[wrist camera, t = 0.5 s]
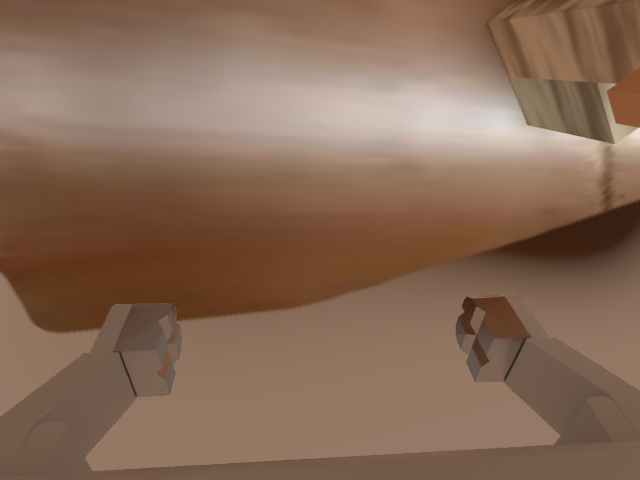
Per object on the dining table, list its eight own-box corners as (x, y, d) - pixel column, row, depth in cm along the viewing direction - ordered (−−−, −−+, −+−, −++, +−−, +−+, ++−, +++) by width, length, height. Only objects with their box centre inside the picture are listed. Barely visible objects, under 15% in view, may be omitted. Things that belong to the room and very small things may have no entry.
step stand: (527, 124, 60) (719, 166, 37) (486, 22, 53) (692, -6, 30) (585, 82, 59) (819, 98, 36) (552, -27, 52) (815, -96, 29)
